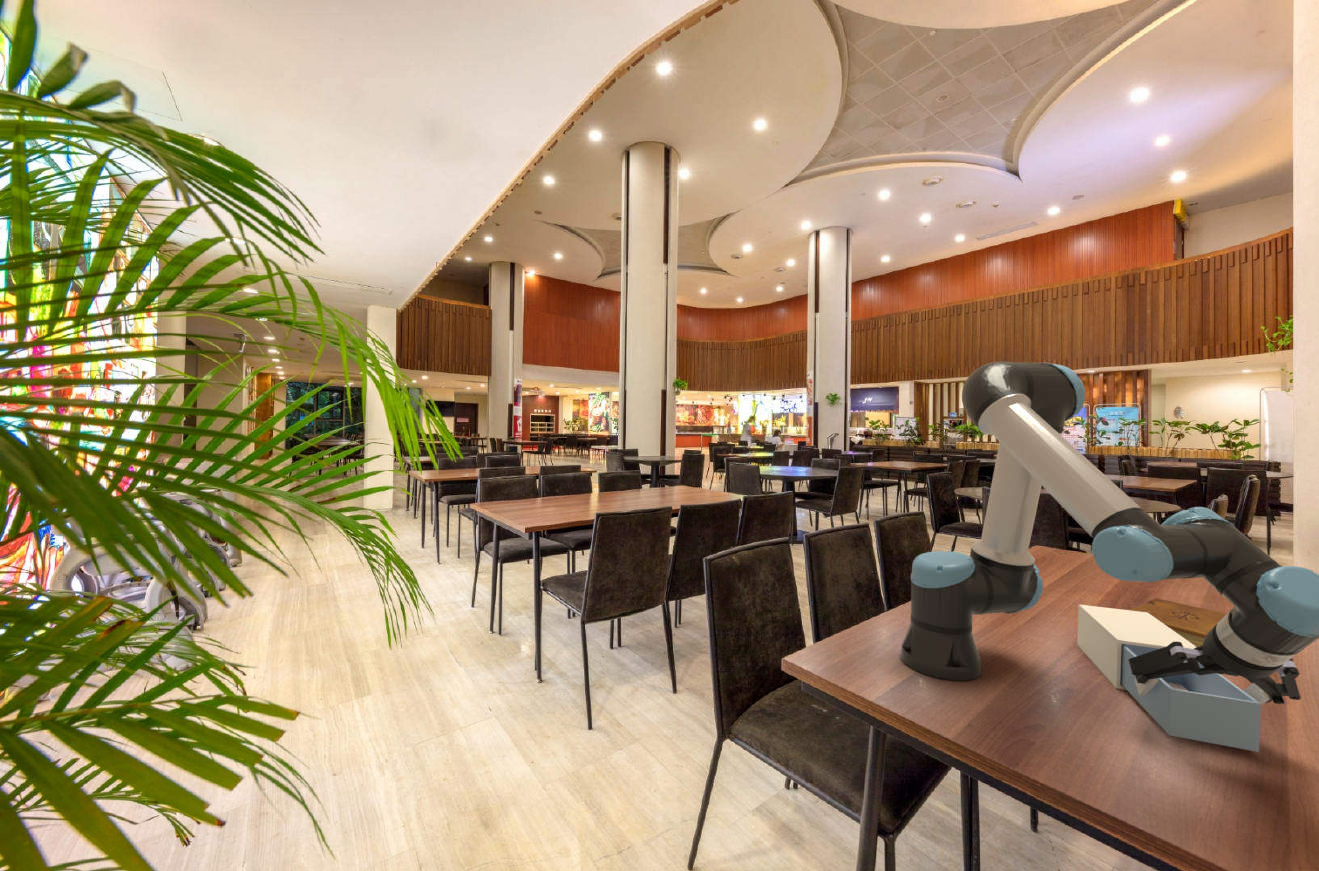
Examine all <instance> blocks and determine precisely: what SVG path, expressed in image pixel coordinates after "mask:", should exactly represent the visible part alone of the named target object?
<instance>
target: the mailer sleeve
mask: <svg viewBox="0 0 1319 871" xmlns="http://www.w3.org/2000/svg"><path fill="white" fill-rule="evenodd" d="M1077 611H1078V613H1077V642H1076V643H1077V646H1078V648H1080V649H1081V651H1082V652H1083V653H1084V654H1085V656H1087V657H1088V659H1089V660H1091V662H1092V663H1093V665H1094V666H1096V668H1097V669H1098V670H1099V671H1100V672H1101V673H1102V674H1103V675H1104V676H1105V678H1106V679H1107V680H1108V681H1109V682H1110V683H1111V685H1112V686H1114V687H1115V689H1116V690H1117V689H1118V690H1123V691H1127V689H1126V688H1125V687H1124V686H1123V685H1122V684H1121V683H1120V677H1121V647H1122V644H1129V645H1136V646H1143V647H1150V648H1158V649H1161V648H1164V647H1167V646H1168V645H1169V644H1171V643H1172V642H1181V643H1182V645H1183V647H1184V648H1190V649H1194V648H1196V646H1194V645H1193V644H1192V643H1190V642H1189V641H1187V640H1186V639H1185V638H1183V637H1182V636H1180V635H1179V634H1177V633H1176V632H1175V631H1173V630H1172V629H1170V628H1169V627H1167V626H1166V625H1165V624H1163V623H1162V622H1160V621H1159V620H1158V619H1156V618H1155V617H1153V616H1152V615H1150V614H1149V613H1147V612H1139V611H1130V609H1119V608H1113V607H1104V606H1094V605H1087V604H1078V610H1077Z"/></svg>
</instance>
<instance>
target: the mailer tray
mask: <svg viewBox="0 0 1319 871" xmlns="http://www.w3.org/2000/svg"><path fill="white" fill-rule="evenodd" d="M1155 650H1158V648H1150V647H1143V646H1136V645H1129V644H1122V647H1121V677H1120V683H1121V684H1122V685H1123V686H1124V687H1125V688H1126V689H1127V690H1126V691H1127V692H1128V693H1129V694H1130V695H1131V696H1132V697H1133V698H1134V700H1136V701H1137V703H1139V705H1140V706H1141V707H1142V708H1143V709H1144V710H1145V711H1146V712H1147V713H1148V714H1149V715H1150V716H1151V718H1152V719H1153V720H1155V722H1156V723H1157V724H1158V725H1159V726H1160V727H1161V729H1163V731H1165V733H1166V734H1167V735H1169V736H1171V737H1176V738H1182V739H1187V740H1193V741H1197V742H1203V743H1209V744H1213V745H1219V746H1223V747H1231V748H1235V749H1236V748H1237V749H1240V750H1245V751H1246V750H1248V751H1251V752H1257V753H1259V752H1260V741H1261V740H1260V739H1261V738H1260V737H1261V717H1262V716H1261V714H1262V713H1261V712H1262V705H1261V703H1259V702H1258V701H1256V700H1255V699H1254V698H1252V697H1251V696H1250V695H1248V694H1247V693H1246V692H1244V691H1243V690H1244V689H1241V687H1239V686H1238V685H1237V684H1235V683H1233V682H1232V681H1231V680H1229V679H1228V678H1226V677H1225V676H1224V675H1223V674H1217V673H1214V674H1207V675H1197V674H1195V673H1190V674H1184V675H1177V676H1170V677H1163V678H1157V680H1158V682H1157V683H1156V684H1155V685H1154V686H1153V688H1152V689H1151V690H1150V691H1149V692H1148V693H1147V694H1146V695H1145V696H1143V695H1139V693H1138V690H1137V687H1136V683H1135V680H1134V679H1135V678H1136V676H1135V675H1133V674H1132V671H1131V668H1130V664H1129V661H1128V659H1130V658H1133V657H1136V656H1139V655H1142V654H1145V653H1148V652H1152V651H1155ZM1198 664H1199V667H1200V668H1204V667H1203V666H1202V665H1201V664H1200V663H1199V662H1198Z"/></svg>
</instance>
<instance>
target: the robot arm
mask: <svg viewBox="0 0 1319 871" xmlns="http://www.w3.org/2000/svg"><path fill="white" fill-rule="evenodd" d="M1085 399H1086V389H1085V386H1084V383H1083V381H1082V379H1081V378H1080V377H1079V376H1078V374H1077V373H1076V372H1075V371H1074V370H1072V369H1071V368H1070V367H1067V366H1066V365H1061V364H1056V363H1049V362H1046V361H1045V362H1020V361H1018V362H1016V361H1003V360H1002V361H999V360H998V361H992V362H989V363H987V364H983V365H981V366H980V367H978V368H976V369H975V370H974V371H972V373H971V374H970V375H969V376H968V377H967V379H966V380H965V382H964V385H962V390H961V403H962V407H963V409H964V411H965V413H966V415H967V417H968V418H969V419H970V420H971V421H972V423H973V424H974V425H975V426H976V427H977V428H978V430H980V432H982V433H983V434H985V435H988V436H993V437H994V438H995V439H996V440H997V441H999V443H998V449H997V452H996V453H997V455H996V460H995V465H994V470H993V474H992V480H991V484H990V491H989V496H988V502H987V507H986V512H985V517H984V522H983V526H982V533H981V538H980V539H979V540H977V541H975V542H973V543H972V544H971V548H970V552H969V553H970V554H969V555H968V554H965V553H963V552H959V551H949V550H947V551H942V550H936V551H927V552H924V553H920V554H919V555H917V556H916V557H915V558H914V560H913V562H912V566H911V567H912V568H911V573H910V582H911V590H910V591H911V592H910V594H911V596H910V598H911V599H910V622H909V623H910V624H909V627H908V629H907V630H906V634H905V636H904V638H903V642H902V643H901V648H900V658H901V660H902V662H903V663H904V664H905V665H907V666H908V667H909V668H910V669H913V670H914V671H916V672H919V673H922V674H924V675H927V676H929V677H934V678H938V679H941V680H948V681H959V682H961V681H972V680H975V679H978V678H979V677H980V676H981V673H982V659H981V657H980V655H979V654H980V653H979V651H978V648H977V644H976V641H975V638H974V635H973V620H974V619H973V618H974V617H973V616H976V615H980V616H981V615H989V614H1002V613H1003V614H1014V613H1019V612H1023V611H1027V610H1030V609H1032V608H1033V607H1034V606H1036V605H1037V604H1038V603H1039V601H1040V599H1041V598H1042V595H1043V591H1044V581H1043V580H1044V579H1043V577H1041V576H1040V574H1041V572H1040V569H1039V568H1038V566H1037V565H1036V564H1035V563H1036V558H1035V557H1034V556H1033V555H1032V554H1031V552H1030V551H1029V548H1030V543H1031V538H1032V533H1033V528H1034V524H1035V520H1036V514H1037V509H1038V504H1039V499H1040V495H1041V490H1042V488H1044V490H1046V491H1047V492H1048V493H1049V494H1050V496H1052V498H1053V499H1054V500H1055V501H1056V502H1057V503H1058V504H1059V505H1060V506H1061V507H1062V508H1063V509H1064V511H1066V512H1067V513H1068V514H1069V515H1070V517H1072V519H1074V520H1075V521H1076V523H1078V524H1079V526H1080V527H1082V528H1083V530H1084V531H1085V532H1086V533H1087V534H1088V535H1089V536H1090V537H1091V538H1092V539H1093V541H1092V543H1091V545H1092V546H1091V552H1092V554H1093V557H1094V559H1095V563H1096V564H1097V566H1098V567H1099V569H1100V570H1101V571H1102V572H1104V573H1105V574H1106V575H1108V576H1110V577H1112V578H1114V579H1117V580H1121V581H1123V582H1125V581H1126V582H1142V583H1151V582H1154V583H1155V582H1158V581H1162V580H1163V581H1164V580H1175V579H1181V580H1182V579H1197V578H1199V579H1200V578H1202V579H1204V580H1205V581H1206V582H1207V583H1208V584H1209V585H1210V586H1211V587H1212V588H1214V589H1215V590H1216V591H1217V592H1218V593H1219V594H1220V595H1221V596H1223V597H1224V598H1225V599H1226V600H1227V601H1229V602H1230V603H1231V604H1232V608H1231V609H1230V610H1229V611H1228V612H1226V615H1225V616H1224V617H1223V618H1222V619H1221V620H1220V621H1219V622H1218V623H1217V624H1216V625H1215V626H1214V627H1213V628H1212V629H1211V630H1210V631H1209V632H1208V634H1207V635H1206V637H1205V639H1204V642H1203V645H1201V646H1198V647H1196V648H1194V649H1190V648H1184V647H1183V645H1182V643H1181V642H1172V643H1171V644H1169V645H1168V646H1167V647H1164V648H1161V649H1158V650H1155V651H1152V652H1148V653H1145V654H1142V655H1139V656H1136V657H1133V658H1130V659H1128V661H1129V664H1130V668H1131V671H1132V674H1133V675H1135V676H1136V678H1135V679H1134V680H1135V683H1136V687H1137V690H1138V693H1139V695H1143V696H1145V695H1146V694H1147V693H1148V692H1149V691H1150V690H1151V689H1152V688H1153V686H1154V685H1155V684H1156V683H1157V682H1158V680H1157V678H1163V677H1170V676H1177V675H1184V674H1190V673H1195V674H1197V675H1207V674H1214V673H1217V674H1221V675H1228V676H1232V677H1242V678H1243V679H1244V678H1245V679H1246V680H1247V681H1248V682H1250V685H1249V686H1247V687H1246V688H1244V689H1242V690H1243V691H1244V692H1246V693H1247V694H1248V695H1250V696H1251V697H1252V698H1254V699H1255V700H1256V701H1258V702H1259V703H1261V706H1262V705H1264V704H1268V703H1271V702H1273V703H1274V704H1278V705H1283V704H1286V702H1285V699H1284V698H1283V697H1288V698H1289V699H1290V700H1295V701H1299V700H1301V699H1302V697H1301V694H1300V690H1299V688H1298V685H1297V680H1296V679H1297V678H1298V677H1299V675H1301V674H1300V672H1299V670H1298V668H1297V665H1296V663H1295V661H1294V659H1293V658H1294V657H1295V656H1297V655H1298V654H1299V653H1300V652H1302V651H1303V650H1305V648H1307V647H1309V646H1311V644H1312V643H1314V642H1316V641H1317V640H1319V573H1317V572H1315V571H1313V570H1312V569H1310V568H1306V567H1302V566H1297V565H1295V566H1294V565H1286V566H1284V565H1281V564H1280V563H1278V562H1277V561H1276V560H1275V559H1274V558H1273V557H1271V556H1270V555H1268V554H1267V553H1266V552H1265V551H1264V550H1263V549H1261V548H1260V547H1259V546H1258V545H1257V544H1256V543H1254V542H1253V541H1252V540H1251V539H1250V538H1248V537H1247V536H1246V535H1245V534H1244V533H1242V532H1241V531H1240V530H1239V529H1238V528H1236V526H1235V525H1234V524H1233V523H1231V522H1230V521H1229V520H1227V519H1225V518H1223V517H1222V516H1221V515H1219V514H1217V513H1216V512H1215V511H1214V510H1213V509H1210V508H1207V507H1203V506H1194V507H1190V508H1188V509H1186V510H1185V509H1184V510H1180V511H1179V512H1176V513H1174V514H1173V515H1171V516H1170V517H1168V518H1167V519H1165V521H1163V522H1162V523H1161V524H1160V523H1159V522H1158V521H1156V520H1155V519H1154V518H1153V517H1152V516H1151V515H1150V514H1149V513H1147V512H1146V511H1145V510H1144V509H1143V508H1142V507H1141V506H1140V505H1138V504H1137V503H1136V502H1135V501H1134V500H1133V499H1132V498H1130V496H1128V495H1127V494H1126V492H1124V491H1123V490H1122V489H1121V488H1120V487H1118V486H1117V485H1116V483H1114V482H1113V480H1111V479H1110V478H1109V477H1107V476H1106V474H1104V472H1102V471H1101V470H1100V469H1098V468H1097V466H1095V465H1094V464H1093V463H1092V462H1091V461H1090V459H1087V457H1086V456H1084V455H1083V454H1082V453H1081V452H1080V451H1079V450H1078V449H1076V447H1074V446H1073V445H1072V444H1071V443H1070V442H1069V441H1068V440H1067V439H1066V438H1065V437H1064V436H1063V435H1062V434H1063V432H1064V427H1065V423H1066V422H1067V421H1069V420H1071V419H1073V418H1075V416H1076V415H1079V413H1080V412H1081V410H1082V409H1083V407H1084V404H1085V401H1086V400H1085ZM1198 662H1199V663H1200V664H1201V665H1202V666H1203V667H1204V668H1200V667H1199V664H1198ZM1275 672H1277V673H1278V674H1279V678H1280V681H1281V683H1278V682H1276V680H1275V679H1273V678H1272V677H1271V675H1272V674H1274V673H1275Z"/></svg>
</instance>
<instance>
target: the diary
mask: <svg viewBox="0 0 1319 871" xmlns="http://www.w3.org/2000/svg"><path fill="white" fill-rule="evenodd" d="M1129 610H1130V611H1139V612H1147V613H1149V614H1150V615H1152V616H1153V617H1155V618H1156V619H1158V620H1159V621H1160V622H1162V623H1163V624H1165V625H1166V626H1167V627H1169V628H1170V629H1172V630H1173V631H1175V632H1176V633H1177V634H1179V635H1180V636H1182V637H1183V638H1185V639H1186V640H1187V641H1189V642H1190V643H1192V644H1193V645H1194V646H1196V647H1198V646H1201V645H1203V642H1204V639H1205V637H1206V635H1207V634H1208V632H1209V631H1210V630H1211V629H1212V628H1213V627H1214V626H1215V625H1216V624H1217V623H1218V622H1219V621H1220V620H1221V619H1222V618H1223V617H1224V616H1225V615H1226V614H1227V612H1226V613H1225V612H1221V611H1216V610H1211V609H1206V608H1202V607H1198V606H1193V605H1190V604H1185V603H1180V602H1176V601H1171V600H1167V599H1166V600H1165V599H1162V598H1154V599H1152V600H1151V599H1150V600H1149V601H1147V602H1144V603H1142V604H1139V605H1137V606H1135V607H1132V608H1130V609H1129Z"/></svg>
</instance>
